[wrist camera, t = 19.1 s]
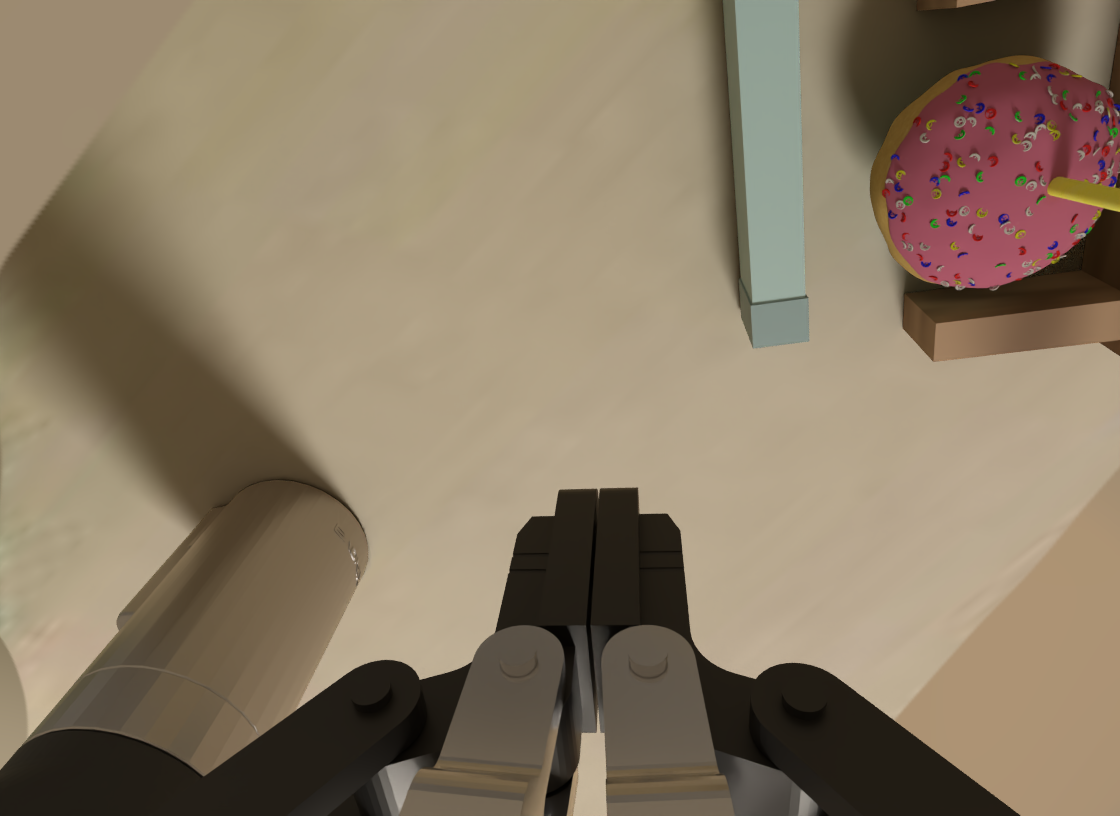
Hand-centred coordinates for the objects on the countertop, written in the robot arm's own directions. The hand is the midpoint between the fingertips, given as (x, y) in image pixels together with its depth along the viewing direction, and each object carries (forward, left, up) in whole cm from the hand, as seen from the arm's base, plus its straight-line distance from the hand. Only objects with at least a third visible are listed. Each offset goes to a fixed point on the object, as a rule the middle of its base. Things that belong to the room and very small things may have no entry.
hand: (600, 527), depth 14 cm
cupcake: (+15, +1, -23) cm, 27 cm away
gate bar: (+7, +2, -23) cm, 24 cm away
